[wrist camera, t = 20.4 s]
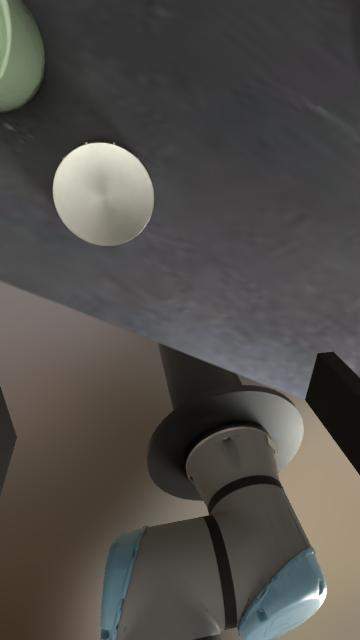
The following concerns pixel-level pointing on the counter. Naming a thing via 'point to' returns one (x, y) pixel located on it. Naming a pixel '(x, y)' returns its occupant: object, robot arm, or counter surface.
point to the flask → (19, 55)
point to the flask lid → (103, 193)
